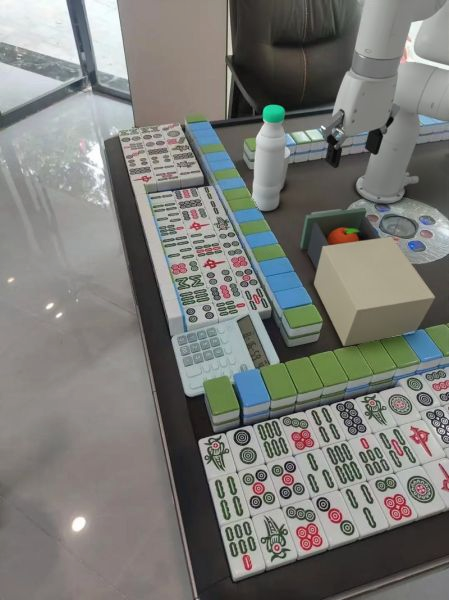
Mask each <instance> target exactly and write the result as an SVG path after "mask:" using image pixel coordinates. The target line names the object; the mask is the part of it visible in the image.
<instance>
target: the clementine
mask: <svg viewBox="0 0 449 600" xmlns="http://www.w3.org/2000/svg"><path fill="white" fill-rule="evenodd" d="M355 232H360V231H359V230H357V229H348V228H338V229H336V230H334V231H332V232H331V233H330V235H329V236H328V238H327V242H328V244H329V245H336V244H343V243H350V242H357V241H359V238H358V236H357V234H356V233H355ZM360 233H361V232H360ZM361 236H362V235H361Z"/></svg>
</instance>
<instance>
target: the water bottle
mask: <svg viewBox="0 0 449 600" xmlns="http://www.w3.org/2000/svg"><path fill="white" fill-rule="evenodd" d="M285 116H286V110H285V108H284V107H283V106H281V105H278V104H269V105H266V106H265V107H264V108H263V110H262V120H263V125H262V126H261V127H260V130H259V131H258V133H257V135H256V138H255V151H254V163H253V180H252V193H251V199H252V198H253V199H254V201H255V202H256V204H257V206H258V208H259V210H258V211H262V212H271V211H274V210H275V209H277V208H278V206H279V204H280V197H281V196H280V193H281V190H282V189H281V178H282V173H283V166H284V158H285V146H286V147H287V143H288V142H287V135H286V133H285V129H284V127H283V124H282V123H283V122H284V121H285ZM280 189H281V190H280Z"/></svg>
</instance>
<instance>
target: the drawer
mask: <svg viewBox="0 0 449 600" xmlns="http://www.w3.org/2000/svg"><path fill="white" fill-rule="evenodd" d="M366 215H367V209H366V208H365V207H360V208H350V209H343V210H342V208H336V209H329V210H320V211H313V212H311V214H306V215H305V219H304V224H303V229H302V234H301V239H300V240H301V241H300V246H299V247H300V249H301V250H307V254H308V256H309V258H310V260H311V262H312V264H313V266H314V268H315V270H316V271H317V268H318V264H319V260H320V256H321V252H322V247H323V246H329V244H328V242H327V238H328V236H329V235H330V233H331V232H332V231H334V230H336V229H338V228H348V229H357V230H359V231H360V232H361V233H360V232H355V233H356V234H357V236H358V238H359V241H365V240H372V239H379V238H381V236H380V235H379V233H378V231H376V229H375V227H374V226H373V225H372V223H371V221H370V220H369V219H368V217H367V216H366ZM361 235H362V236H361Z"/></svg>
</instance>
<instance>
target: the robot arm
mask: <svg viewBox="0 0 449 600" xmlns="http://www.w3.org/2000/svg"><path fill="white" fill-rule="evenodd" d="M356 2H357V3H358V4H359V6H360V7H362V12H361V16H360V21H359V26H358V31H357V36H356V41H355V45H354V49H353V55H352V60H351V64H350V68H349V70H347V71H345V74H344V76H343V78H342V81H341V84H340V86H339V90H338V92H337V95H336V98H335V102H334V105H333V111H332V115H331V117H330V118H329V119H327V120H326V121H325V122H324V123H322V125H321V126H320V131H321V135H322V138H323V140H325V143H327V150H326V155H325V159H324V160H325V162H326V163H327V164H328V165H329V166H331V167H332V168H333V169H337V168H338V167H339V166H340V162H341V158H342V154H343V153H342V152H343V148H342V145H343V144H344V142H345V141H346V140H347V139H348V138H350V137H351V138H352V137H354V136H358V135H361V134H364V133H367V137H366V142H365V145H364V149H365V150H366V151H368V152H369V153H370V157H369V160H368V164H367V167H366V170H365V173H364V174H363V175H362V176H360V177H359V178H357V181H356V182H355V183H356V184H355V189H356V191H357V193H358V195H360V196H361V197H362V198H364V199H366V200H368V201H370V202H372V203H373V202H374V203H377V204H391V203H396V202H398V201H401V199H402V198H403V196H405V192H406V189H405V187H406V186H408V185H414V184H418V183H419V180H420V178H419V176H418V175H413V176H410V173H409V172H408V171H407V169H408V167H409V164H410V161H411V158H412V156H413V153H414V150H415V147H416V145H417V142H418V140H419V136H420V133H421V121H420V116H424V117H427V118H431V119H434V120H437V121H440V122H446V123H447V122H448V123H449V69H446V68H443V67H438V66H435V65H430V64H428V63H427V64H426V63H422V62H419V61H418V62H417V61H405V62H402V63H401V61H402V58H403V56H404V51H405V47H406V43H407V40H408V37H409V33H410V29H411V27H412V23H416V22H421V25H420V27H419V28H418V31H417V33H416V35H415V39H414V42H413V52H414V54H415V56H416V57H418V58H420V59H422V60H426V61H429V62H432V63H437V64H439V65H440V64H441V65H445V66H449V0H356ZM419 115H420V116H419ZM339 134H341V135H340V136H339V137H338V139H337V136H338V135H339Z"/></svg>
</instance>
